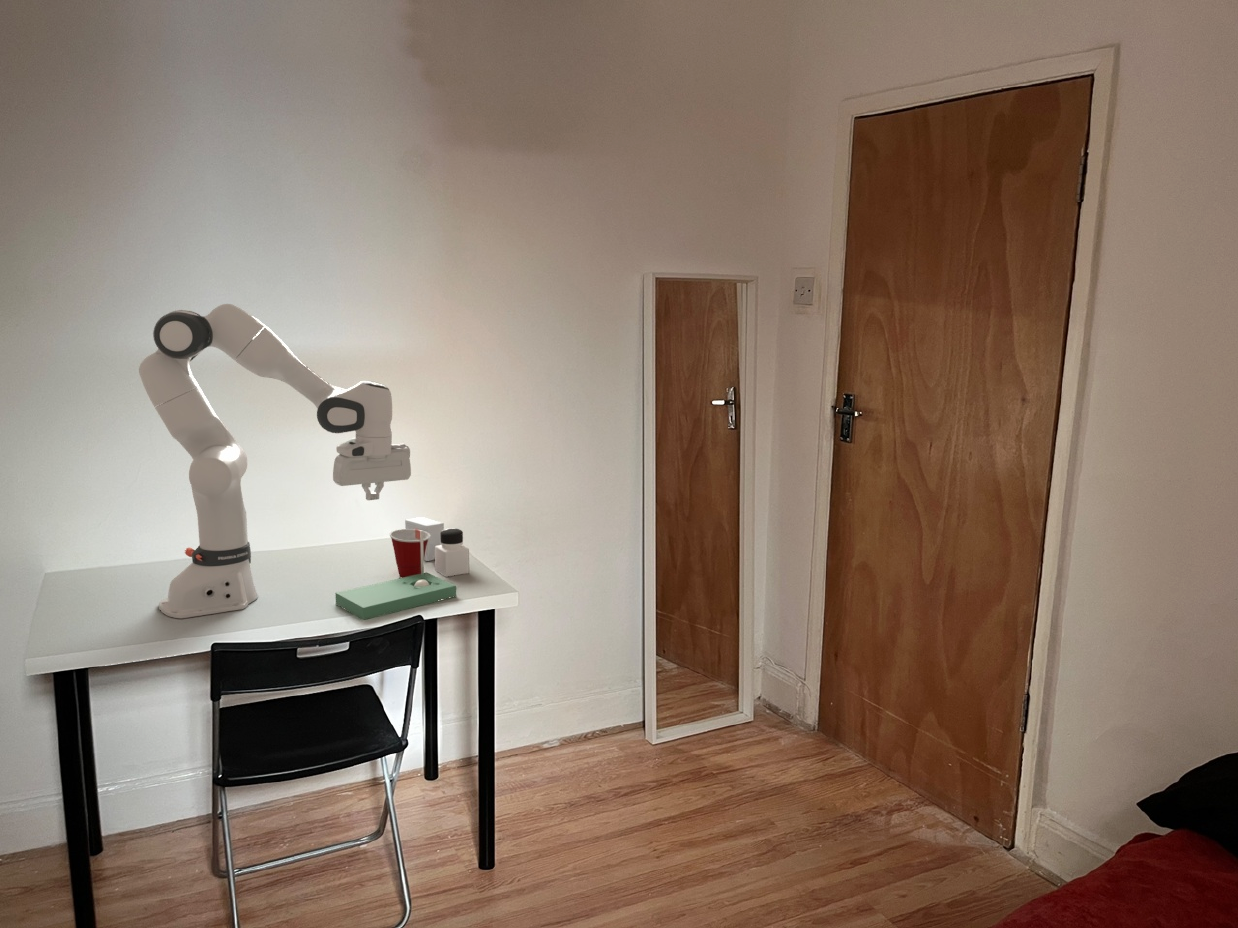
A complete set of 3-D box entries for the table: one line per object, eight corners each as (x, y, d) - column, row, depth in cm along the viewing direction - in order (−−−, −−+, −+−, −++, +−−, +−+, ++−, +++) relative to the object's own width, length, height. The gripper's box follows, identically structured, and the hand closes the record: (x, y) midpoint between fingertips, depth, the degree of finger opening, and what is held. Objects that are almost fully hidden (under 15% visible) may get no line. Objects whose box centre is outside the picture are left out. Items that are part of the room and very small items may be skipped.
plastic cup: (421, 583, 256) (420, 540, 254) (383, 580, 258) (382, 537, 256) (437, 571, 267) (436, 529, 264) (400, 568, 269) (399, 526, 267)
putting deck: (363, 619, 230) (361, 558, 227) (332, 602, 241) (330, 544, 238) (456, 596, 247) (455, 540, 244) (423, 581, 258) (422, 527, 255)
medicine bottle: (469, 573, 266) (469, 531, 264) (445, 577, 262) (444, 534, 260) (458, 566, 272) (458, 525, 270) (434, 570, 268) (434, 528, 266)
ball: (416, 587, 244) (429, 578, 246) (408, 584, 247) (420, 574, 249) (423, 600, 246) (435, 590, 248) (414, 596, 249) (426, 586, 251)
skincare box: (445, 557, 280) (444, 522, 278) (427, 561, 276) (426, 526, 274) (422, 549, 287) (422, 515, 285) (404, 554, 282) (404, 519, 280)
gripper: (403, 441, 253) (402, 493, 255) (330, 446, 239) (329, 500, 242) (416, 445, 248) (414, 498, 251) (342, 451, 235) (341, 506, 237)
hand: (372, 499), depth 246 cm, fingers closed
